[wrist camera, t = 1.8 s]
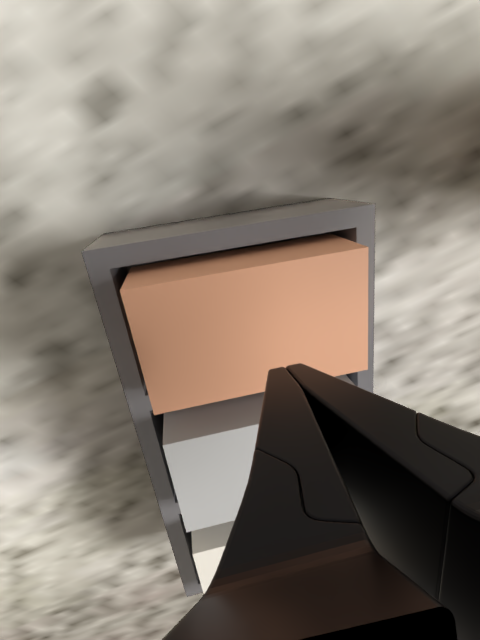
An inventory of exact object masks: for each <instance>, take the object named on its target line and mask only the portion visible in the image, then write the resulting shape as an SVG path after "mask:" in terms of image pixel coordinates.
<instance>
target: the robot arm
mask: <svg viewBox="0 0 480 640" xmlns="http://www.w3.org/2000/svg"><path fill="white" fill-rule="evenodd" d="M162 640H480V436H478V435H475V434H472V433H470V432H467V431H464V430H461V429H459V428H456V427H454V426H451V425H449V424H446V423H444V422H441V421H439V420H436V419H434V418H431V417H429V416H427V415H424V414H422V413H416V411H414V410H412V409H410V408H407V407H405V406H402V405H400V404H398V403H395V402H393V401H391V400H388V399H386V398H383V397H381V396H379V395H376V394H374V393H371V392H369V391H367V390H364V389H362V388H360V387H357V386H355V385H352V384H350V383H348V382H345V381H343V380H340V379H338V378H336V377H333V376H331V375H329V374H326V373H324V372H321V371H319V370H317V369H314V368H312V367H309V366H307V365H305V364H302V363H298V364H293V365H288V366H286V368H285V367H278V368H274V369H270V370H269V371H268V375H267V381H266V387H265V393H264V398H263V404H262V410H261V416H260V421H259V427H258V433H257V439H256V444H255V451H254V454H253V460H252V465H251V470H250V474H249V479H248V483H247V486H246V489H245V492H244V495H243V498H242V502H241V505H240V507H239V510H238V513H237V516H236V518H235V521H234V524H233V527H232V529H231V532H230V535H229V538H228V540H227V543H226V546H225V549H224V551H223V554H222V557H221V560H220V562H219V565H218V567H217V570H216V572H215V575H214V577H213V579H212V581H211V583H210V585H209V587H208V589H207V591H206V592H205V593H204V595H203V596H202V598H201V599H200V600H199V602H198V603H197V604H196V605H195V606H194V607H193V608H192V609H191V610H190V611H189V612H188V613H187V614H186V615H185V616H184V617H183V618H182V619H181V620H180V621H179V622H178V624H177V625H176V626H175V627H174V628H173V629H172V630H171V631H170V632H169V633H168V634H167V635H166V636H165V637H164V638H163V639H162Z"/></svg>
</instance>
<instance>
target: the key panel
mask: <svg viewBox="0 0 480 640" xmlns="http://www.w3.org/2000/svg"><path fill="white" fill-rule="evenodd" d="M329 233H330V234H333V235H336V236H339V237H341V238H344V239H347V240H350V241H353V242H356V243H358V244H361V245H364V246H367V247H368V370H363V371H358V372H354V373H349V374H346V375H347V377H348V378H349V379H350V380H351V381H352V382H353V383H354V385H355V386H357V387H360V388H362V389H364V390H367V391H369V392H371V393H373V357H374V273H375V204H373V203H365V202H357V201H349V200H341V199H333V198H327V199H321V200H314V201H308V202H302V203H295V204H289V205H283V206H276V207H270V208H264V209H257V210H251V211H245V212H238V213H232V214H226V215H219V216H213V217H207V218H200V219H194V220H188V221H181V222H175V223H169V224H162V225H156V226H150V227H143V228H137V229H131V230H124V231H118V232H112V233H105V234H103V235H101V236H100V237H99V238H98V239H96V240H95V241H94V242H93V243H91V244H90V245H89V246H88V247H86V248H85V249H84V250H82V251H81V252H82V255H83V259H84V262H85V265H86V269H87V272H88V275H89V278H90V282H91V285H92V288H93V291H94V295H95V298H96V301H97V304H98V308H99V311H100V314H101V318H102V321H103V324H104V327H105V331H106V334H107V337H108V340H109V344H110V347H111V350H112V354H113V357H114V360H115V363H116V367H117V370H118V373H119V376H120V380H121V383H122V386H123V389H124V393H125V396H126V399H127V403H128V406H129V409H130V412H131V416H132V419H133V422H134V425H135V429H136V432H137V435H138V439H139V442H140V445H141V448H142V452H143V455H144V458H145V461H146V465H147V468H148V471H149V475H150V478H151V481H152V484H153V488H154V491H155V494H156V497H157V501H158V504H159V507H160V510H161V514H162V517H163V520H164V524H165V527H166V530H167V533H168V537H169V540H170V543H171V546H172V550H173V553H174V556H175V560H176V563H177V566H178V569H179V573H180V576H181V579H182V582H183V586H184V589H185V592H186V595H187V597H188V596H192V595H195V594H199V593H203V590H202V587H201V583H200V580H199V576H198V572H197V569H196V565H195V561H194V558H193V554H192V534H191V531H190V532H186V529H185V525H184V522H183V518H182V514H181V511H180V507H179V503H178V500H177V496H176V493H175V489H174V485H173V482H172V478H171V474H170V471H169V467H168V464H167V460H166V456H165V453H164V449H163V423H164V413H162V414H157V415H154V413H153V409H152V406H151V402H150V398H149V395H148V391H147V387H146V384H145V380H144V377H143V373H142V369H141V366H140V362H139V358H138V355H137V351H136V348H135V344H134V340H133V337H132V333H131V329H130V326H129V322H128V319H127V315H126V311H125V308H124V304H123V300H122V297H121V293H120V289H121V287H122V285H123V283H124V281H125V279H126V277H127V275H128V273H129V270H130V268H131V267H134V266H140V265H146V264H152V263H158V262H164V261H170V260H176V259H181V258H187V257H193V256H199V255H205V254H211V253H217V252H223V251H229V250H235V249H241V248H247V247H252V246H258V245H264V244H270V243H276V242H282V241H288V240H294V239H300V238H306V237H312V236H318V235H323V234H329Z"/></svg>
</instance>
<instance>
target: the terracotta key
mask: <svg viewBox="0 0 480 640" xmlns="http://www.w3.org/2000/svg"><path fill="white" fill-rule="evenodd" d="M120 293H121V297H122V300H123V304H124V308H125V311H126V315H127V319H128V322H129V326H130V329H131V333H132V337H133V340H134V344H135V348H136V351H137V355H138V358H139V362H140V366H141V369H142V373H143V377H144V380H145V384H146V387H147V391H148V395H149V398H150V402H151V406H152V409H153V413H154V415H157V414H162V413H167V412H171V411H176V410H181V409H185V408H190V407H195V406H199V405H204V404H209V403H213V402H218V401H223V400H227V399H232V398H237V397H241V396H246V395H251V394H255V393H260V392H265V387H266V381H267V375H268V371H269V370H270V369H274V368H278V367H285V368H286V366H288V365H293V364H298V363H302V364H305V365H307V366H309V367H312V368H314V369H317V370H319V371H321V372H324V373H326V374H329V375H331V376H333V377H335V376H340V375H344V374H349V373H354V372H358V371H363V370H368V247H367V246H364V245H361V244H358V243H356V242H353V241H350V240H347V239H344V238H341V237H339V236H336V235H333V234H330V233H329V234H323V235H318V236H312V237H306V238H300V239H294V240H288V241H282V242H276V243H270V244H264V245H258V246H252V247H247V248H241V249H235V250H229V251H223V252H217V253H211V254H205V255H199V256H193V257H187V258H181V259H176V260H170V261H164V262H158V263H152V264H146V265H140V266H134V267H131V268H130V270H129V273H128V275H127V277H126V279H125V281H124V283H123V285H122V287H121V289H120Z"/></svg>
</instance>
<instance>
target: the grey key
mask: <svg viewBox="0 0 480 640" xmlns="http://www.w3.org/2000/svg"><path fill="white" fill-rule="evenodd" d="M335 377H336V378H338V379H340V380H343V381H345V382H348V383H350V384H352V385H354V383H353V382H352V381H351V380H350V379H349V378H348V377H347V375H346V374H344V375H340V376H335ZM264 393H265V392H260V393H255V394H251V395H246V396H241V397H237V398H232V399H227V400H223V401H218V402H213V403H209V404H204V405H199V406H195V407H190V408H185V409H181V410H176V411H171V412H167V413H164V423H163V449H164V453H165V456H166V460H167V464H168V467H169V471H170V474H171V478H172V482H173V485H174V489H175V493H176V496H177V500H178V503H179V507H180V511H181V514H182V518H183V522H184V525H185V529H186V532H190V531H194V530H198V529H202V528H206V527H210V526H214V525H218V524H222V523H226V522H230V521H234V520H235V518H236V516H237V513H238V510H239V507H240V505H241V502H242V498H243V495H244V492H245V489H246V486H247V483H248V479H249V474H250V470H251V465H252V460H253V454H254V451H255V444H256V439H257V433H258V427H259V421H260V416H261V410H262V404H263V398H264Z"/></svg>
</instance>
